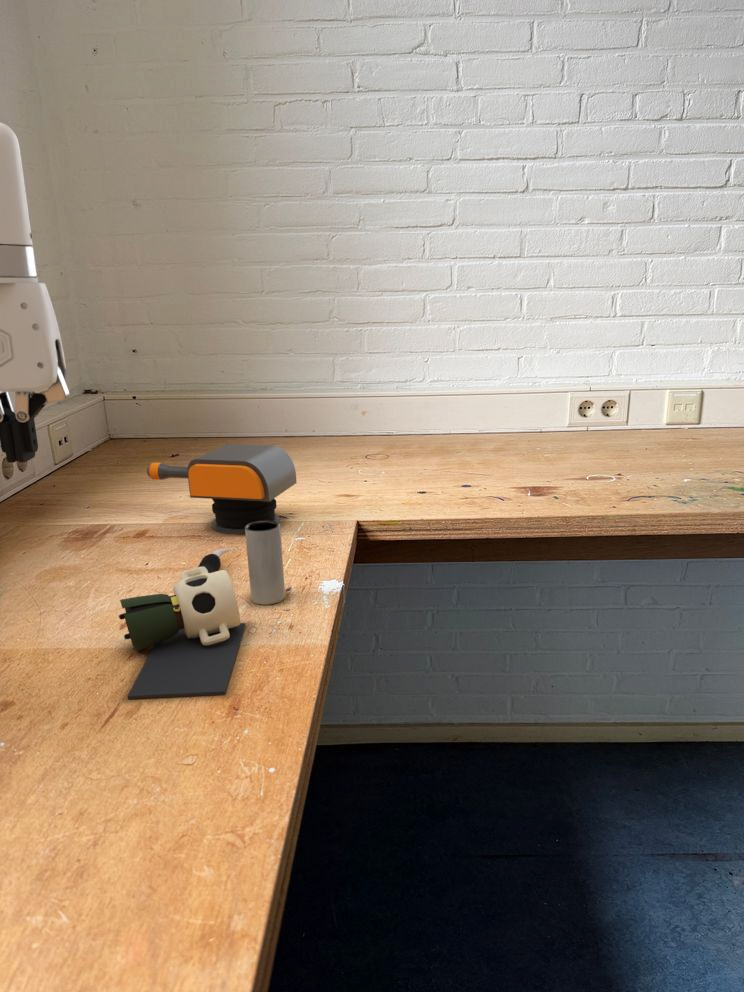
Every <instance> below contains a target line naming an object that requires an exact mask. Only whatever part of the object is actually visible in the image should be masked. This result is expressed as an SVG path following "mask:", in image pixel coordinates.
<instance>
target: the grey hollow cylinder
mask: <svg viewBox="0 0 744 992" xmlns="http://www.w3.org/2000/svg"><path fill="white" fill-rule="evenodd" d="M244 535H245V541H246V542H245V545H246V554H247V556H246V557H247V568H248V578H249V591H250V598H251V599H250V600H251V601H252V603H254V604H256V605H263V606H265V605H274V604H278V603H280V602H282V601H283V600H285V598H286V587H285V586H286V585H285V572H284V559H283V545H282V532H281V523H280V524H279V523H278V522H275V521H256V522H252V523H249V524H247V525H246V526H245V534H244Z"/></svg>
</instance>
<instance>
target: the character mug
mask: <svg viewBox="0 0 744 992" xmlns="http://www.w3.org/2000/svg"><path fill="white" fill-rule="evenodd" d="M179 577H180V580H179V581H177V583H174V584H173V594H172V595H169V594H165V593H155V594H148V595H139V596H134V597H128V598H121V599H119V602H120V605H121V608H122V609H124V611H125V612H124V613H120V614H119V615H118V619H119V620H125V624H126V628H127V631H128V633H125V634H124V635H123V638H124V639H125V640H130V641H131V645H132V647H133V650H134V651H135V652H139V651H142V650H144V649H147V648H149V647H153V646H154V644H157V643H159V642H161V641H164V640H166V639H168V638H171V637H173V636H174V635H175V634H177V633H178V631H179V630H180V629H184V632H185V634H186V636H187V637H188V638H197V637H200V640H201V642H202V644H203V645H211V644H215V643H218V642H222V641H225V640H227V639H228V638H229V635H230V634H229V631H228V629H229V628H232V627H236V626H238V625H240V623H241V616H240V615H241V614H240V610H239V605H238V600H237V597H236V592H235V589H234V586H233V583H232V579H231V578H230V575H229V573H228V571H227V570H226V569H219V570H218V571H216V572H213V573H208V571H207V569H206V568H205V567H198V566H197V567H193V568H191V569H186V570H184V571H181V573H180V575H179ZM218 631H220V634H217V635H213V636H210V637H209V636H208V634H211V633H215V632H218Z"/></svg>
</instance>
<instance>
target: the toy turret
mask: <svg viewBox="0 0 744 992" xmlns="http://www.w3.org/2000/svg"><path fill="white" fill-rule="evenodd" d="M146 473H147V476H148V477H149V478H151V479H152V480H158V481H163V480H167V479H187V482H188V490H189V498H191V499H207V500H209V499H211V500H212V501H213V503H212V504H211V509H212V510H211V511H212V513H213V514H214V518H215V519H213V520H212V521H211V523H210V527H211V529H212V530H213V531H215V532H217V533H221V534H227V535H228V534H229V535H245V526H246V525H247V524H249V523H252V522H256V521H275V522H278V523H279V524H280V525H281V517H280V516H279V515H278V514H276V509H277V508H278V507H277V499H276V498H277V497H278V496H280V495H282V494H283V493H285V492H286V491H287V490H289V489H290V488H291V487H293V486H294V485H296V484H297V471H296V467H295V464H294V461H293V459H292V458H291V457H290V455H289V453H288V452H287V451H286V450H285V449H283V448H282V447H280V446H277V445H270V444H268V445H267V444H242V443H241V444H239V443H238V444H237V443H235V444H234V443H227V444H224V445H222V446H220V447H217V448H216V449H213V450H211V451H209V452H207V453H205V454H202V455H199V456H198V457H196V458H194V459H192V460H190V461H189V463H188V465H187V466H186V465H185V466H183V465H181V466H180V465H170V464H166V463H164V462H151V463H150V464H149V465H148V466H147V468H146Z"/></svg>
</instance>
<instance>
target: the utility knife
mask: <svg viewBox="0 0 744 992" xmlns="http://www.w3.org/2000/svg"><path fill="white" fill-rule="evenodd" d="M234 550H235V548H221V549H218V550H215V551H213V552H211V553H209V554H207V555H205V556H204V557H202V559H201V561H200V562H199V564H198V566H197V567H205V568H206V569H207V571H208V573H213V572H216V571H220V568H221V559H220V558H221V556H223V555H224V554H226V553H229V552H230V551H234Z"/></svg>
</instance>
